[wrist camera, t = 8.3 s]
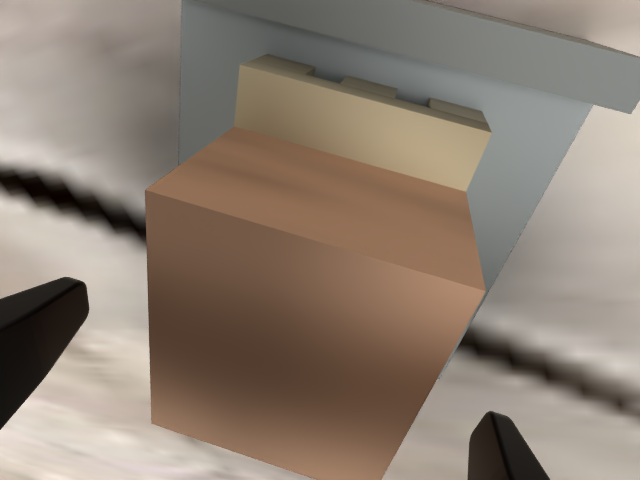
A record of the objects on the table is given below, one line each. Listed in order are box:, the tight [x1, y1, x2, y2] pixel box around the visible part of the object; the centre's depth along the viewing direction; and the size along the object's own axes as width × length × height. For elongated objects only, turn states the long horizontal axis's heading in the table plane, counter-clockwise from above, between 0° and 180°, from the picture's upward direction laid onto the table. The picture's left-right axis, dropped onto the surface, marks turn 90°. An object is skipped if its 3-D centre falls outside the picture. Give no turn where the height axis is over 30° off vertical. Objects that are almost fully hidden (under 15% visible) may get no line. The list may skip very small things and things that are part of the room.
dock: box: [178, 0, 640, 379], centre depth 14 cm, size 12×11×4 cm
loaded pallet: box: [145, 54, 492, 480], centre depth 11 cm, size 10×6×6 cm, turn 168°
